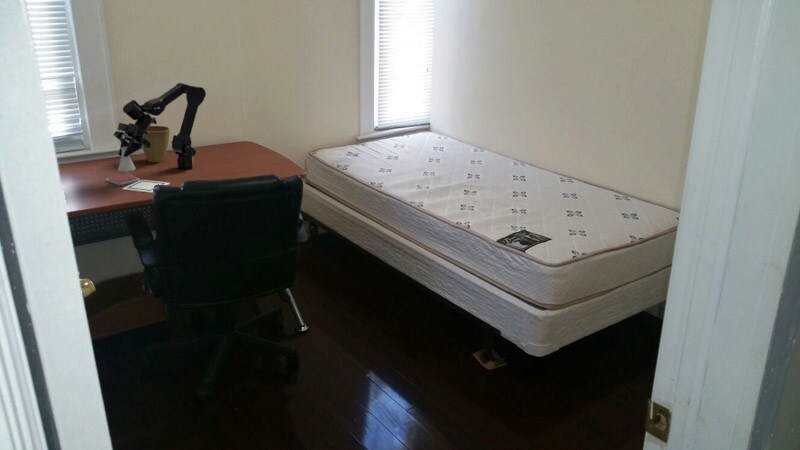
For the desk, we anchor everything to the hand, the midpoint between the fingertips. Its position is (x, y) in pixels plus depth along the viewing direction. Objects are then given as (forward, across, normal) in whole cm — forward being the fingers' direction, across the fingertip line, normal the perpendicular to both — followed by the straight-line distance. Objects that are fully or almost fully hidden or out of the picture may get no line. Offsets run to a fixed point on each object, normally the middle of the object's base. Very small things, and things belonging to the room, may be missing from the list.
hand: (122, 156), depth 275 cm
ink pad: (+8, -4, +10) cm, 13 cm away
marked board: (+7, +11, +10) cm, 17 cm away
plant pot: (-14, -21, +32) cm, 40 cm away
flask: (+4, 0, +6) cm, 7 cm away
